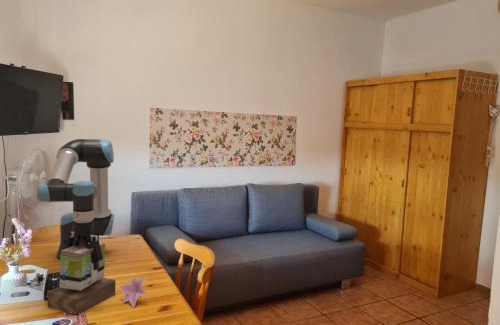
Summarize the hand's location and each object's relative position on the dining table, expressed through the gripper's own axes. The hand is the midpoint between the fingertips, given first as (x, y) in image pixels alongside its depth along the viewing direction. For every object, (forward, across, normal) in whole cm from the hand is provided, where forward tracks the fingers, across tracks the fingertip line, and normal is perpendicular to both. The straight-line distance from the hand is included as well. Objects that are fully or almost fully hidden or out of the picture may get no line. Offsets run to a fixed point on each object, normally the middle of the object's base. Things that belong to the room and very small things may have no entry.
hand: (83, 274), depth 148 cm
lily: (+11, +19, +8) cm, 23 cm away
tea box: (+3, 0, 0) cm, 3 cm away
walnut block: (+10, 0, 0) cm, 10 cm away
